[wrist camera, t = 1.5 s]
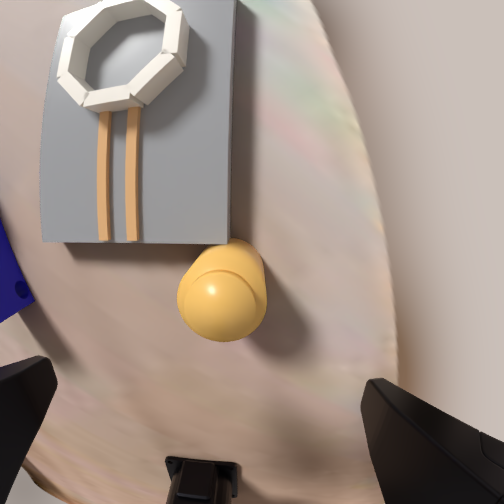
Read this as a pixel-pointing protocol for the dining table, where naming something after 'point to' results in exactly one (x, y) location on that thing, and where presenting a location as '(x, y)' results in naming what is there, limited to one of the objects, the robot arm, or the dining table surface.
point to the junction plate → (140, 124)
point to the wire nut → (224, 292)
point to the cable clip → (11, 281)
